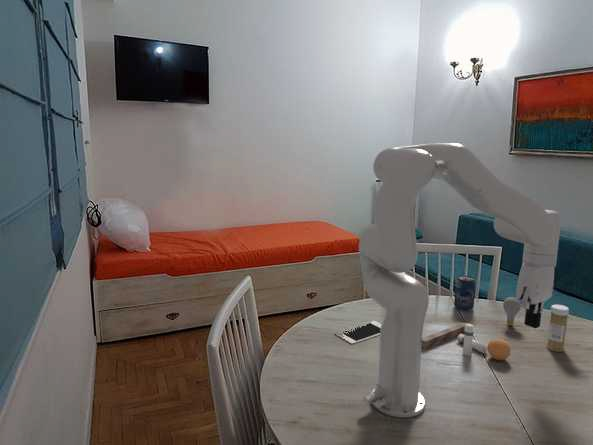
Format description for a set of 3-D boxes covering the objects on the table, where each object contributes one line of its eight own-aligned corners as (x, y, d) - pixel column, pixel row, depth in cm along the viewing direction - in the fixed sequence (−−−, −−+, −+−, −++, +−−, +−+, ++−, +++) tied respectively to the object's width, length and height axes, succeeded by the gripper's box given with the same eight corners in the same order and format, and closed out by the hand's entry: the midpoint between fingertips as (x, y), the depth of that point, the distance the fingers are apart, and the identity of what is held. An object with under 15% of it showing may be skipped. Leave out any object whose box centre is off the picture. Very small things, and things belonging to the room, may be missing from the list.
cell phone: (393, 332, 144) (393, 329, 144) (351, 346, 134) (352, 343, 134) (374, 322, 151) (374, 320, 151) (333, 335, 141) (333, 332, 141)
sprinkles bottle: (566, 349, 131) (572, 307, 128) (559, 353, 128) (564, 310, 126) (551, 344, 135) (556, 302, 132) (543, 347, 132) (548, 305, 130)
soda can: (455, 311, 160) (457, 280, 157) (452, 304, 166) (454, 274, 164) (475, 312, 159) (478, 281, 156) (471, 305, 165) (473, 275, 163)
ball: (479, 343, 127) (488, 363, 124) (495, 336, 122) (504, 357, 120) (493, 341, 130) (502, 361, 127) (509, 334, 125) (518, 355, 122)
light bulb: (519, 324, 149) (522, 296, 147) (517, 330, 144) (520, 301, 142) (502, 320, 152) (505, 293, 150) (500, 326, 147) (502, 298, 145)
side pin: (468, 357, 126) (470, 328, 125) (460, 353, 128) (463, 325, 127) (473, 354, 128) (475, 325, 126) (465, 351, 130) (468, 322, 128)
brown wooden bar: (424, 349, 131) (425, 341, 130) (419, 346, 132) (419, 339, 132) (468, 331, 143) (469, 324, 143) (463, 329, 145) (463, 322, 144)
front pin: (487, 344, 128) (462, 332, 136) (481, 347, 127) (457, 335, 135) (487, 351, 129) (463, 339, 137) (482, 355, 128) (457, 342, 136)
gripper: (539, 251, 118) (532, 314, 121) (509, 259, 110) (502, 327, 113) (569, 257, 112) (560, 324, 115) (539, 266, 103) (531, 338, 107)
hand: (532, 325), depth 114 cm, fingers closed
